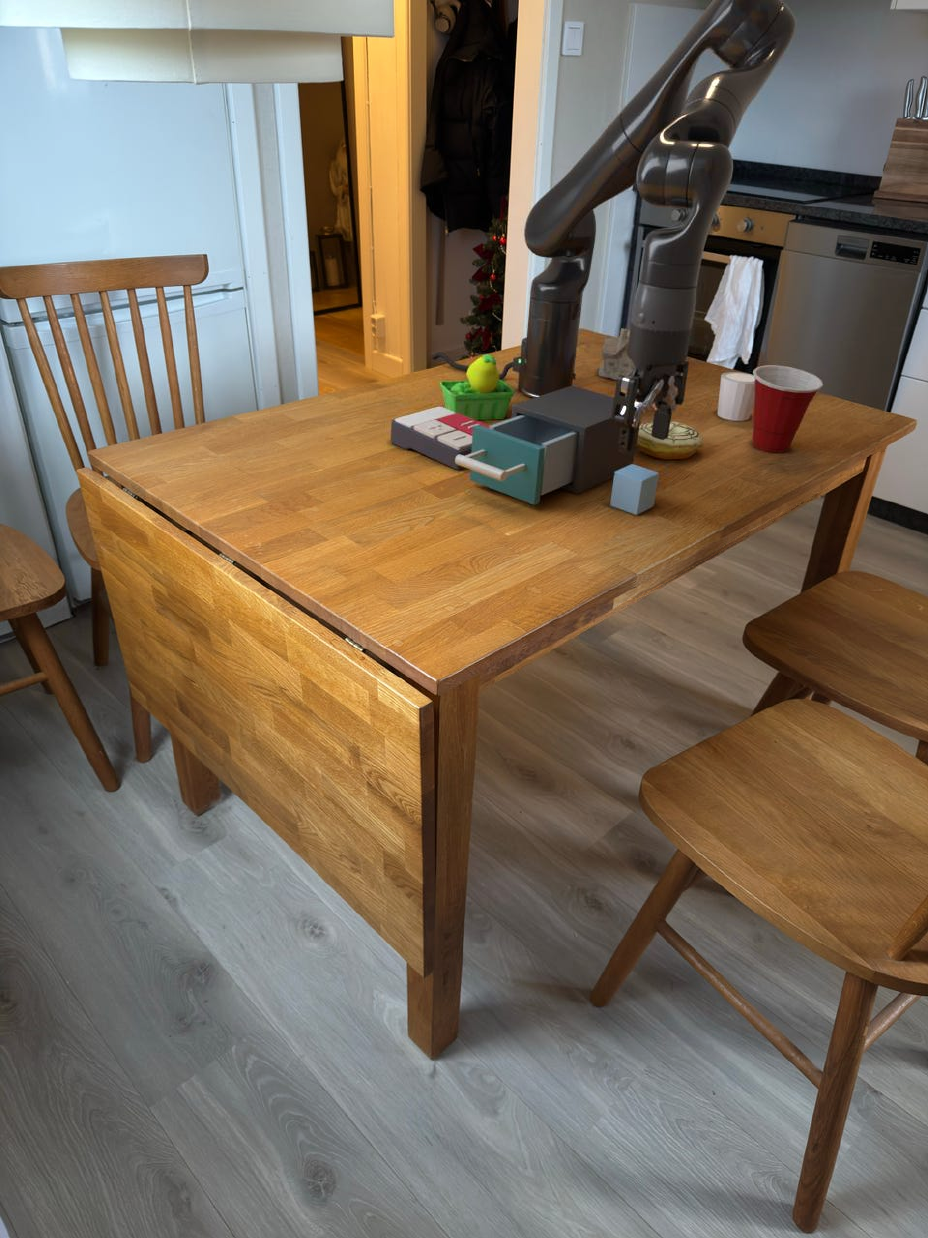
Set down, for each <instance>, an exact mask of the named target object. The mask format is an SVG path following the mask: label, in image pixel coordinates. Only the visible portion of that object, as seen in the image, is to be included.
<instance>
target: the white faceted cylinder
mask: <svg viewBox="0 0 928 1238" xmlns="http://www.w3.org/2000/svg"><path fill="white" fill-rule="evenodd" d="M719 385H720V386H719V395H718V404H717V416H718V417H719V418H722V419H725V420H727V421H734V422H744V421H747V420H749V419H750V417H751V413H752V410H753V409H754V398H755V378H754V374H750V373H746V372H738V371H731V372H730V371H729V372H724V373H722V374H721V375H720V383H719Z"/></svg>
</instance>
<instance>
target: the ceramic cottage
mask: <svg viewBox="0 0 928 1238" xmlns="http://www.w3.org/2000/svg"><path fill="white" fill-rule="evenodd" d="M629 334H630V329H628V328H623V327H622V328H621V329H620V333H619V336H615V335H614V336H613V335H610V334H607V335H606V336H605V337H604V343H603V347H602V348H601V351H600V352H601V354H600V355H601V360H602V361H603V363H602V364H601V365H600V367H599V370H598V376H599V377H601V378H608V379H609V378H610V379H612V380H613V381H617V378H618V376H619V375H624V376H631V375H632V372H633V369H634V367H633V366H635V364H634V362H633V360H632V359H630V358H629V357H628V355H627V349H628V342H629Z"/></svg>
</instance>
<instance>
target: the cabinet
mask: <svg viewBox="0 0 928 1238" xmlns="http://www.w3.org/2000/svg"><path fill="white" fill-rule="evenodd" d="M613 402H614V396H611V395H607V394H604V393H600V392H596V391H594V390H591V389H590V390H589V389H586V388H583V387H579V386H576V385H574V384H573V385H572V386H569V387H566V388H563V389H560V390H557V391H554V392H551V393H548V394H545V395H542V396H539V397H536V398H529V399H526V400H524V401H520V402H518V403H515V404H512V408H511V410H512V411H511V418H514V417H517V416H520V415H523V414H524V415H527V416H530V417H533V418H536V419H539V420H543V421H546V422H549V423H552V424H555V425H558V426H561V427H564V428H568V429H571V430H574V431H577V432H580V433H579V439H578V448H577V456H576V464H575V473H574V481H573V482H570V483H568V484H566V485H564V486H561V487H559V488H558V489H563V490H564V491H567V492H570V493H573V494H576V495H579V494H581V493H582V492H585V491H587V490H589V489H591V488H593V487H595V486H597V485H598V486H599V485H600V484H602V483H603V482H606V481H608V480H610V479H612V478H613V479H614V474H615V472H616V471H618V470H620V469H622V468H624V467H627V466H629V465H631V464H634V465H635V458H636V453H637V452H636V450H637V447H638V446H637V439H638V433H639V426H641V421H640V422H639V424H638V426H637V427H638V432H637V438H636V445H635V451H634V453H633V454H631V455H627V454H624V453H621V452H619V451H618V449H617V448H618V440H619V433H620V424H618V423H615V422H612V421H611V414H612V408H613ZM623 407H624V406H623V405H621V408H620V413H621V411H622V409H623ZM635 413H636V410H634V412H633V417H634V415H635Z"/></svg>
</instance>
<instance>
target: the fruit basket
mask: <svg viewBox="0 0 928 1238" xmlns="http://www.w3.org/2000/svg"><path fill="white" fill-rule="evenodd" d="M496 365H497V361H496V358H495V357H494V356H493V355H490V354H487V353H486V354H482V356H480V357H478V358H477V359H476V360H475V361H473V362H471V364H470V365H468V366H469V368H468V370H467V371H466V378H467V380H452V381H451V380H450V381H449V380H447V381H440V382H439V386H440V389H441V391H442V395H443V402H444V406H445V408H446V409H448V410H450V411H453V412H455V413H460V414H462V415H465V416H467V417H469V418H472V419H474V420H476V421H490V420H503V419H505V417H506V414H507V412H508V409H509V406H510V404H511V401H512V398H513V397H514V395H515V394H516V393H515V392H516V391H515V390H514V389H513V388H512V387H511V386H510V385H508V384H507V383H506V382H505V381H504V380H503V379H499V374H500V373H499V369H498V368H497V366H496Z"/></svg>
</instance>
